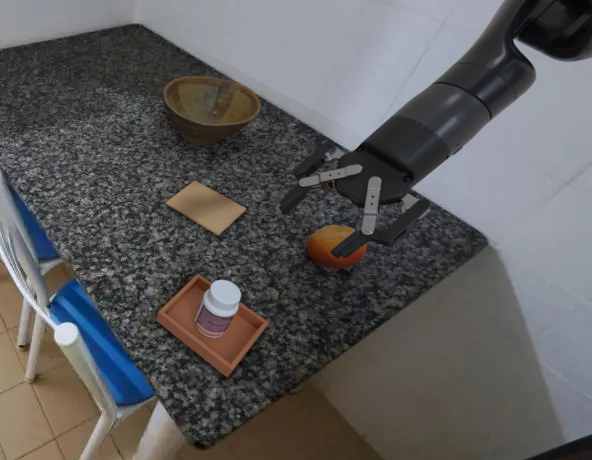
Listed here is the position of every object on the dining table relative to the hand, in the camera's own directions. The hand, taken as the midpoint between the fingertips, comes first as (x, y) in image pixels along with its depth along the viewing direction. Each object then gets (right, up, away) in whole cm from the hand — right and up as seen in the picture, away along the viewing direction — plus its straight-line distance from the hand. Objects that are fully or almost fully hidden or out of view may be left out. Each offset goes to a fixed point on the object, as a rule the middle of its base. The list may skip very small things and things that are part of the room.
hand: (306, 232), depth 50 cm
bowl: (0, +23, +44) cm, 49 cm away
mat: (-5, +5, +26) cm, 27 cm away
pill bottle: (-10, -14, +8) cm, 19 cm away
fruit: (+14, -5, +17) cm, 23 cm away
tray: (-10, -14, +8) cm, 19 cm away
